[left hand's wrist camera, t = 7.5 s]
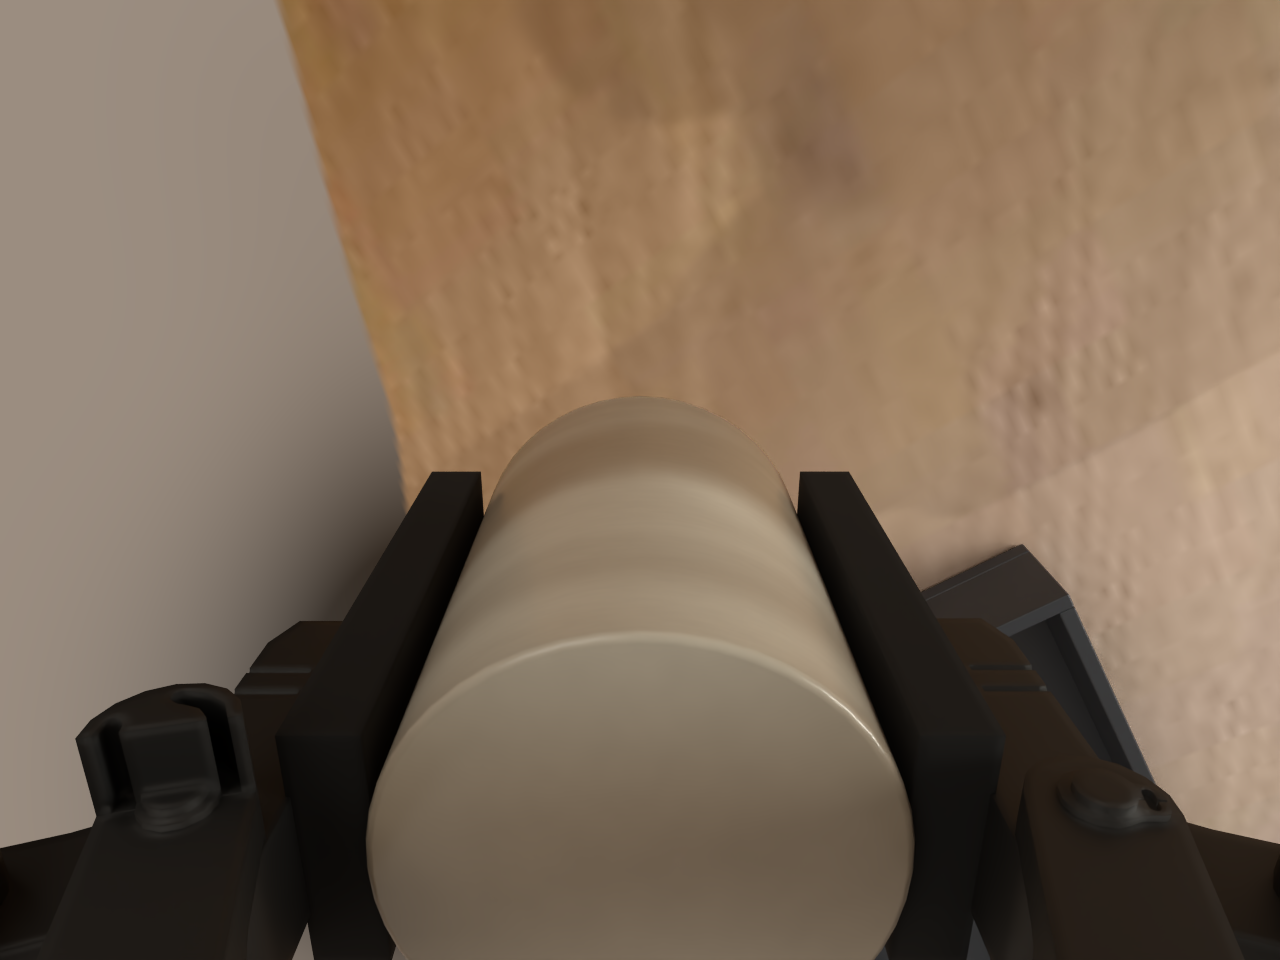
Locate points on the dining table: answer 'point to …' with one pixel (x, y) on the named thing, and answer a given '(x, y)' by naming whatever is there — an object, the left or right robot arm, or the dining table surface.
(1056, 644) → the tray
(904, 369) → the dining table surface
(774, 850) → the cylinder
